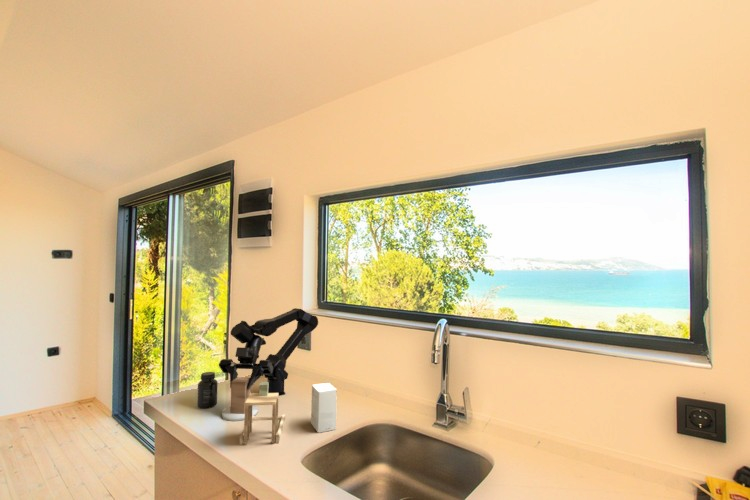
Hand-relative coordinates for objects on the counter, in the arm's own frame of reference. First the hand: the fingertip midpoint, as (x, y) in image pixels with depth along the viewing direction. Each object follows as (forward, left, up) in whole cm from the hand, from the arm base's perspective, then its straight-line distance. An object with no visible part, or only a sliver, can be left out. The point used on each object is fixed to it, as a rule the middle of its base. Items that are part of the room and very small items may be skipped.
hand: (239, 388), depth 130 cm
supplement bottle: (+8, -15, -10) cm, 20 cm away
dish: (-1, -1, -9) cm, 10 cm away
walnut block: (-1, -1, -8) cm, 8 cm away
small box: (-22, +23, -10) cm, 33 cm away
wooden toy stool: (-2, +21, -9) cm, 23 cm away
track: (-4, +16, -9) cm, 19 cm away
